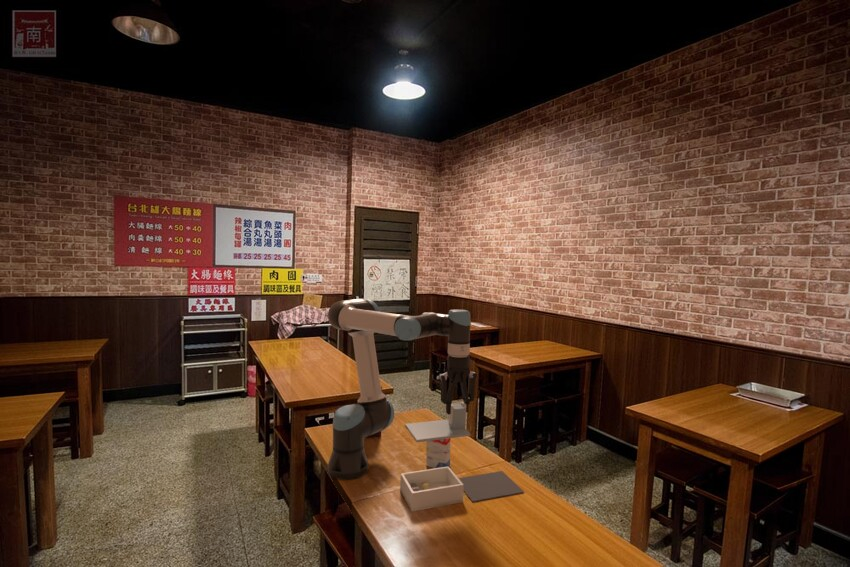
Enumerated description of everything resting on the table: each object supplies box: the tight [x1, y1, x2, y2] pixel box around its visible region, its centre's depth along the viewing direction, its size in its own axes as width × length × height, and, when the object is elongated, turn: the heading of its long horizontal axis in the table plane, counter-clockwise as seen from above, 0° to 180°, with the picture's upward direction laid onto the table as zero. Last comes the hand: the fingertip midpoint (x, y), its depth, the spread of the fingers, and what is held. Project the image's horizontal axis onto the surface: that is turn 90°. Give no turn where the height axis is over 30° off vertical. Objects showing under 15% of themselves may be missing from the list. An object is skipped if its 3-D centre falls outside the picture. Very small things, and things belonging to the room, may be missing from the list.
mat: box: [458, 470, 525, 503], centre depth 150 cm, size 20×15×1 cm
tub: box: [399, 466, 464, 512], centre depth 142 cm, size 18×13×6 cm
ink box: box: [425, 438, 451, 469], centre depth 163 cm, size 8×5×15 cm, turn 65°
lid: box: [404, 402, 471, 443], centre depth 141 cm, size 19×14×9 cm
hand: (456, 422), depth 144 cm, fingers closed on lid, 4 cm apart
